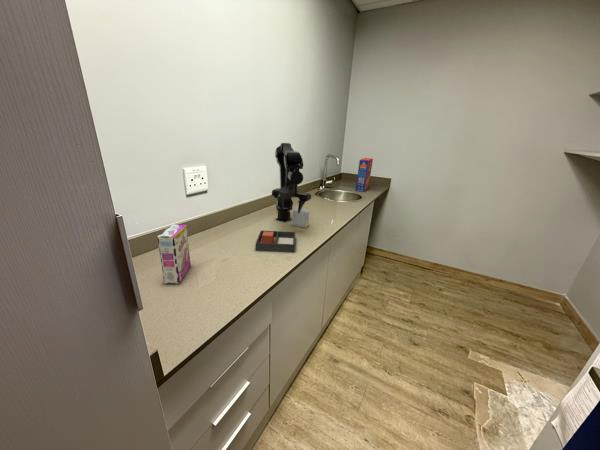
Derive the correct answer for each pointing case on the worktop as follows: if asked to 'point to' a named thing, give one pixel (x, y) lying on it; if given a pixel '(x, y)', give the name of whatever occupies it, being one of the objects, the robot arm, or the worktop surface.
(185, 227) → the candy bar box
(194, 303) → the worktop surface
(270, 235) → the terracotta block
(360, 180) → the pasta box
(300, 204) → the robot arm
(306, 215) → the medicine box
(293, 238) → the tray
